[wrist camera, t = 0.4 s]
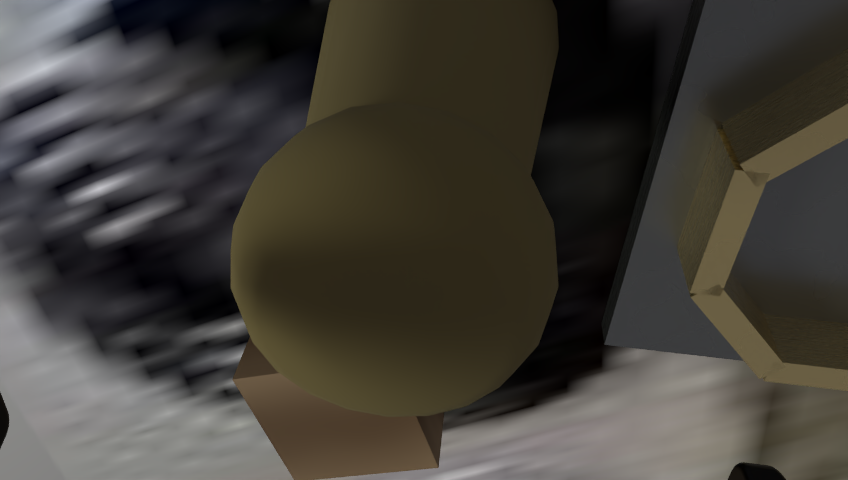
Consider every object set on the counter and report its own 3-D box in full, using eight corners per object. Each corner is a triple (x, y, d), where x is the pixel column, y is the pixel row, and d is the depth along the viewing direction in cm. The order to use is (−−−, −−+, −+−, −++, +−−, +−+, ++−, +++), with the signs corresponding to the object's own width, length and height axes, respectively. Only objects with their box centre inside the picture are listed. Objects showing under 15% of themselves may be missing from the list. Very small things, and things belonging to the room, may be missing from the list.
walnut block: (448, 374, 27) (438, 467, 24) (320, 391, 28) (295, 481, 25) (407, 269, 24) (390, 358, 21) (268, 291, 26) (232, 379, 22)
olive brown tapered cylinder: (317, -83, 18) (125, 145, 9) (573, -77, 17) (629, 172, 9) (334, 139, 22) (209, 456, 13) (547, 150, 21) (567, 487, 12)
